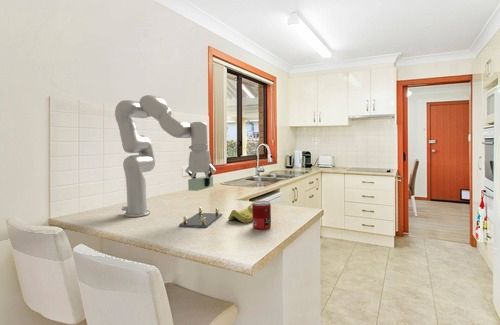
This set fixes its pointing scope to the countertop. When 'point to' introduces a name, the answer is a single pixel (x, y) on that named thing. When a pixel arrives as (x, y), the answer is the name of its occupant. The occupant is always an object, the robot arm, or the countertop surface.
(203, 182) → the board block
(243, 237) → the countertop surface
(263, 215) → the canned food
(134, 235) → the countertop surface
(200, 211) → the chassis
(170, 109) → the robot arm
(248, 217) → the plastic component
